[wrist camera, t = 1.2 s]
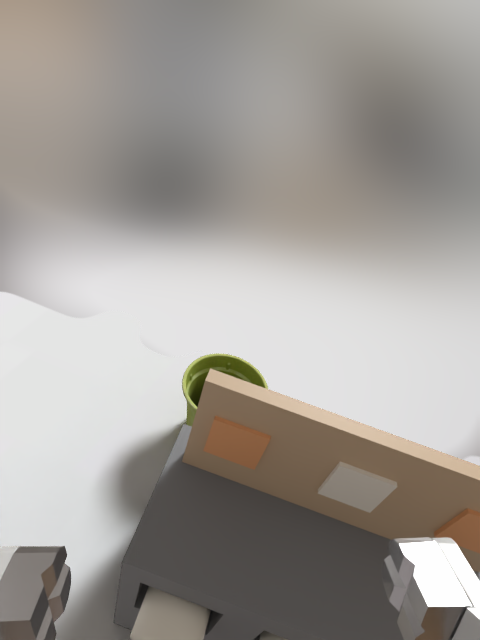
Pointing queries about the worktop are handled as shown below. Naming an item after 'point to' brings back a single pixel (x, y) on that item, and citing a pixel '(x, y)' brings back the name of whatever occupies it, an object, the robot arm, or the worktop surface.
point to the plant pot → (218, 362)
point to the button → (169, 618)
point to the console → (291, 518)
